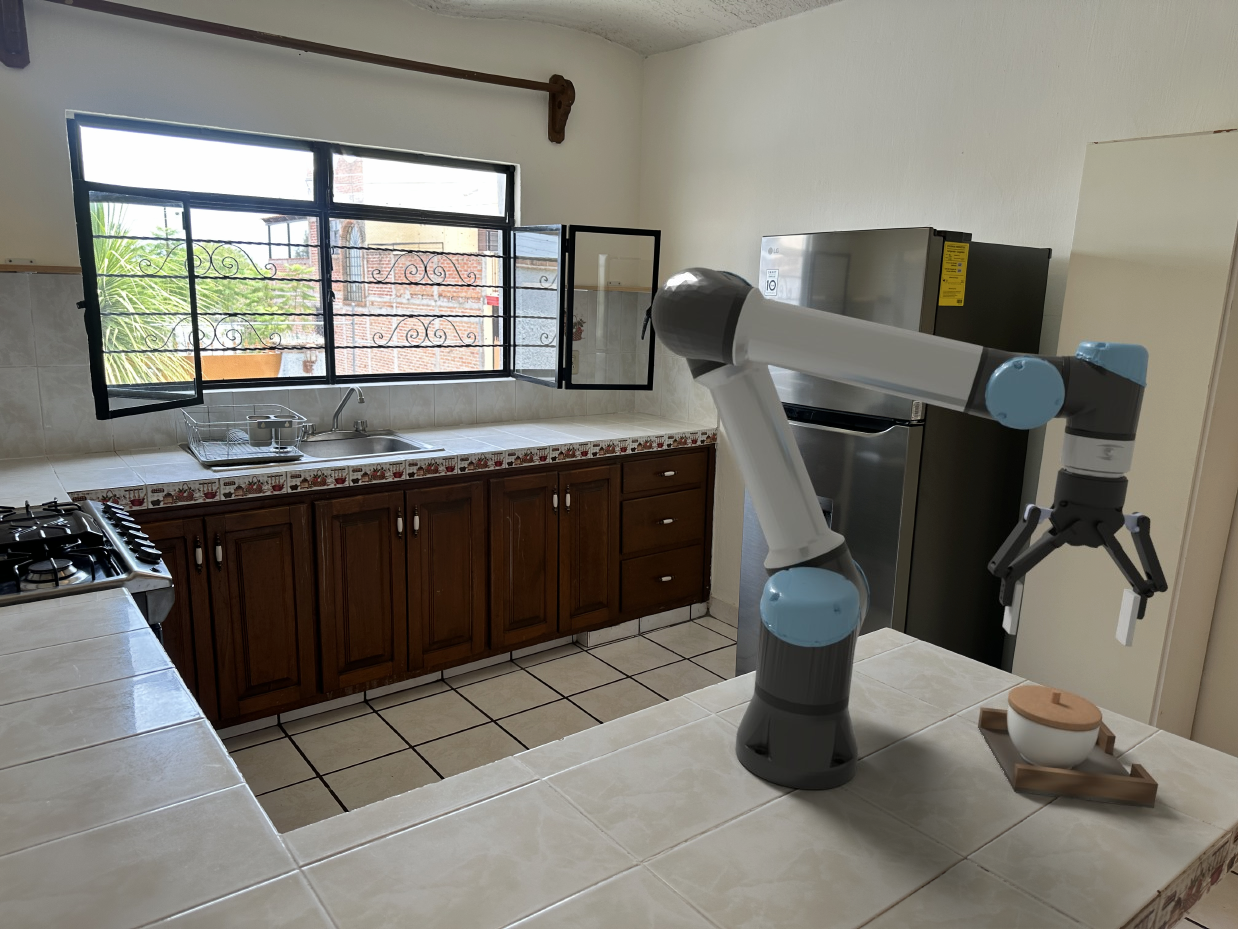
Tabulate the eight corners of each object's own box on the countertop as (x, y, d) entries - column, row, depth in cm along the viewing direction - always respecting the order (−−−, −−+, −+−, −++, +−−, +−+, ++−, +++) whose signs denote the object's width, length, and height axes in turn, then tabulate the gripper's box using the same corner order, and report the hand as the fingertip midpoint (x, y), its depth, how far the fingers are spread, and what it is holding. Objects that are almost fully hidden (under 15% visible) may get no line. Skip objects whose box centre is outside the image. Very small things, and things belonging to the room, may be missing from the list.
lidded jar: (1071, 742, 113) (1082, 677, 112) (1108, 786, 103) (1121, 715, 101) (989, 734, 114) (998, 669, 113) (1017, 777, 104) (1028, 706, 102)
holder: (1014, 791, 102) (1017, 768, 101) (977, 727, 117) (980, 707, 117) (1153, 808, 100) (1158, 784, 99) (1097, 741, 115) (1101, 720, 115)
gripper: (994, 467, 100) (970, 636, 104) (1222, 486, 96) (1187, 659, 100) (977, 457, 107) (955, 615, 111) (1188, 473, 104) (1157, 635, 108)
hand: (1065, 636), depth 106 cm, fingers open, 13 cm apart
